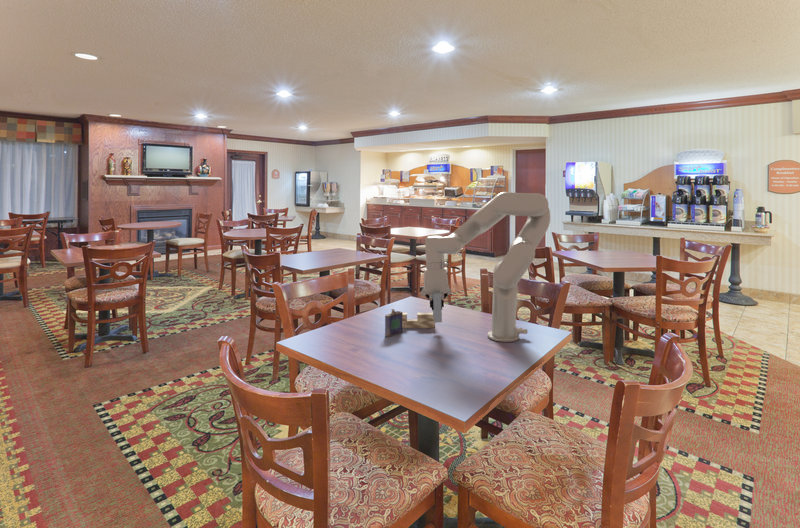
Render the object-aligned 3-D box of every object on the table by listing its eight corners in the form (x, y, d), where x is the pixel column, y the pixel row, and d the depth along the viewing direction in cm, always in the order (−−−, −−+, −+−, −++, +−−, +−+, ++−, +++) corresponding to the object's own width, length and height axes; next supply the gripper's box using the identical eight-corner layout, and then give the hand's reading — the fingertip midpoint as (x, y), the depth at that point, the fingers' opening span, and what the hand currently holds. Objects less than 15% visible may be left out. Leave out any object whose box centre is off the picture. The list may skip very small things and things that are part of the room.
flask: (387, 337, 182) (387, 312, 180) (382, 335, 184) (382, 310, 182) (403, 332, 188) (403, 307, 186) (398, 330, 190) (398, 306, 188)
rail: (434, 325, 197) (434, 312, 196) (435, 327, 194) (435, 314, 193) (389, 325, 197) (389, 312, 196) (389, 327, 194) (389, 314, 193)
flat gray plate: (432, 315, 191) (431, 288, 190) (439, 315, 191) (438, 288, 190) (434, 322, 182) (433, 293, 180) (441, 322, 182) (440, 293, 180)
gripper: (454, 263, 187) (455, 306, 189) (415, 265, 187) (417, 307, 190) (456, 266, 179) (457, 310, 182) (415, 268, 179) (417, 312, 182)
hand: (436, 308), depth 186 cm, fingers closed on flat gray plate, 3 cm apart
